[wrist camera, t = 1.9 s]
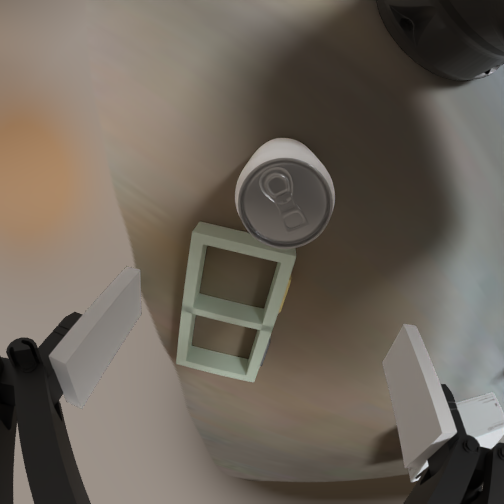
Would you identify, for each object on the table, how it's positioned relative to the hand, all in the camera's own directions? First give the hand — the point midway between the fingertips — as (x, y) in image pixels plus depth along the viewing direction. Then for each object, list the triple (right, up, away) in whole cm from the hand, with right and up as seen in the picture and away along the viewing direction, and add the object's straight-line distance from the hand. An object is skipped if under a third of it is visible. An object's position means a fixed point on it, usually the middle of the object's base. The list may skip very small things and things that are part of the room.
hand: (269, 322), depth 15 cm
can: (+2, +11, +15) cm, 19 cm away
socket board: (-3, -3, +21) cm, 22 cm away
